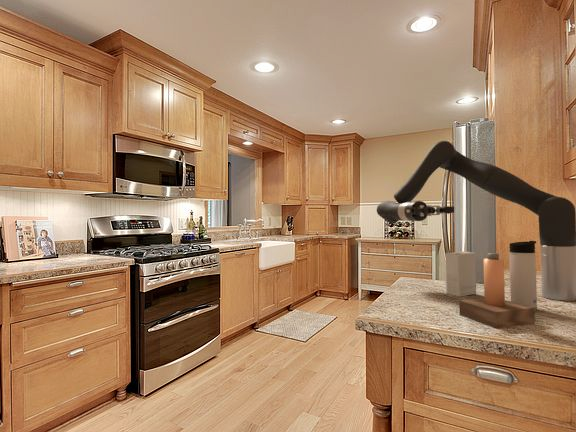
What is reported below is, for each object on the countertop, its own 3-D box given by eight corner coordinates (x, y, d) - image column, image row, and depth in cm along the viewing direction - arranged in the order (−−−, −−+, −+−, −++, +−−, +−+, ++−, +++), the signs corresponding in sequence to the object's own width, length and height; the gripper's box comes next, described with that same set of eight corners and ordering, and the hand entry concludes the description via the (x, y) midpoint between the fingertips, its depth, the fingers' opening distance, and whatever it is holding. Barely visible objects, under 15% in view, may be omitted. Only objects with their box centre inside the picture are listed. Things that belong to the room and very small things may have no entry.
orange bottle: (494, 301, 90) (492, 252, 90) (509, 305, 85) (507, 254, 85) (480, 302, 89) (479, 253, 89) (495, 306, 84) (493, 254, 84)
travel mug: (543, 312, 92) (541, 241, 92) (517, 311, 93) (515, 241, 93) (531, 306, 98) (529, 240, 98) (507, 305, 99) (505, 240, 100)
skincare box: (463, 291, 119) (461, 250, 120) (477, 294, 114) (476, 252, 114) (445, 293, 117) (444, 252, 117) (459, 297, 111) (458, 253, 111)
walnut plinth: (494, 310, 94) (493, 297, 94) (534, 323, 82) (534, 307, 83) (459, 314, 91) (459, 300, 91) (496, 328, 80) (496, 312, 80)
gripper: (395, 201, 122) (423, 198, 106) (428, 201, 126) (460, 198, 110) (396, 221, 122) (424, 221, 106) (428, 220, 125) (460, 220, 110)
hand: (442, 209), depth 108 cm, fingers open, 8 cm apart
